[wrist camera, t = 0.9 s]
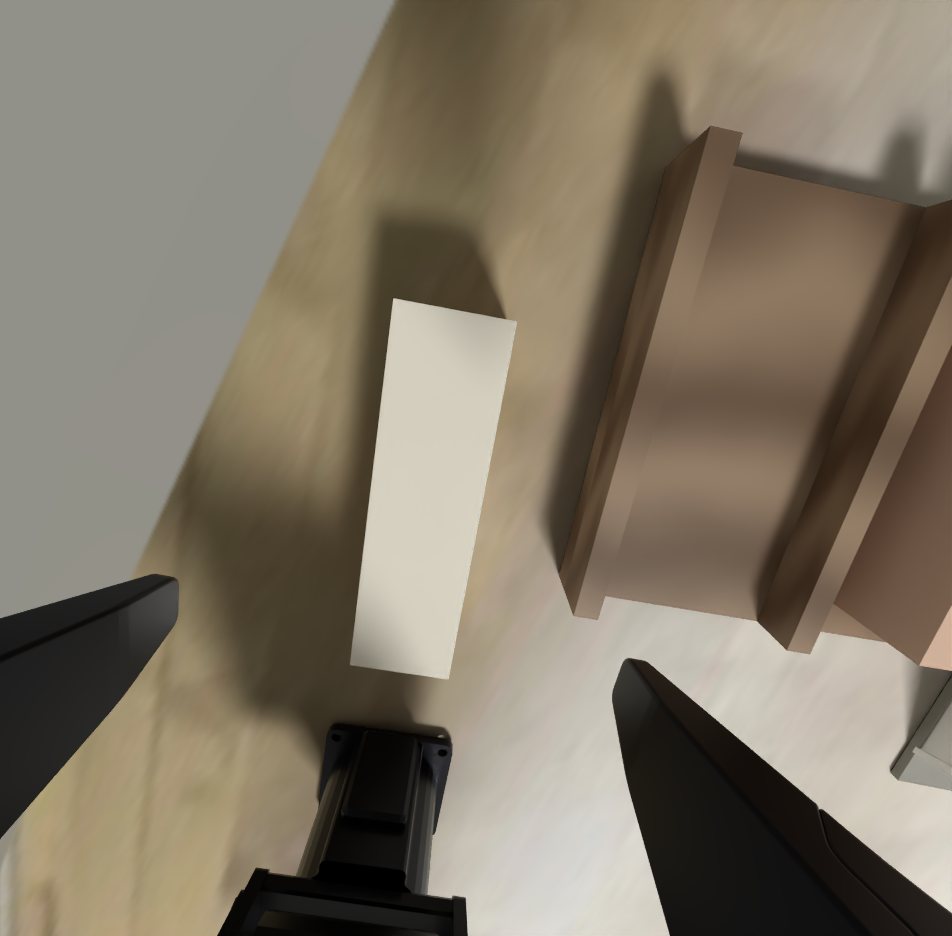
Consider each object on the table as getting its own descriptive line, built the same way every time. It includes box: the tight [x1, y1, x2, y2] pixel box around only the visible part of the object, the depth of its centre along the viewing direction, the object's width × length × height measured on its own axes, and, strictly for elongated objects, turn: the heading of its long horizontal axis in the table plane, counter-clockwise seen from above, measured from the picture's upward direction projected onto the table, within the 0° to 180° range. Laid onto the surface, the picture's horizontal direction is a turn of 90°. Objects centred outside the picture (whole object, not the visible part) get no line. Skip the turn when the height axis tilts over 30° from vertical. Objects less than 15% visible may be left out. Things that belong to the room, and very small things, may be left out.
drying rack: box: [559, 126, 952, 654], centre depth 17 cm, size 17×19×3 cm
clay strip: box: [350, 298, 517, 679], centre depth 18 cm, size 14×4×4 cm, turn 170°
